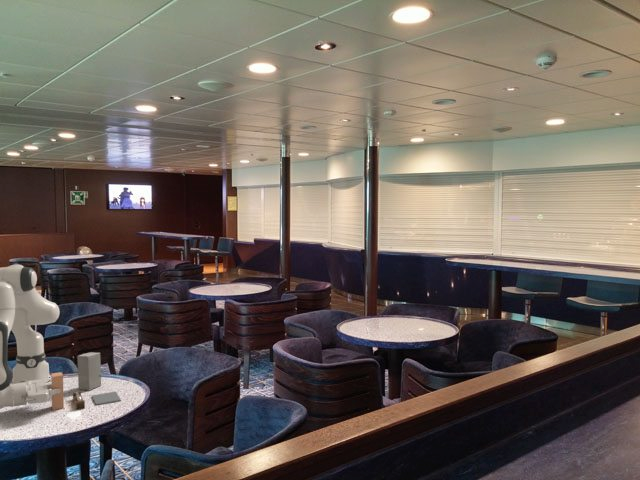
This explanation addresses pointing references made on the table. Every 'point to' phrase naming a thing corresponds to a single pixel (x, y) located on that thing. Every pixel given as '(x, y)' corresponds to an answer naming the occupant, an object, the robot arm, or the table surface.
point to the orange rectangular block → (57, 398)
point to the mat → (106, 398)
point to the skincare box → (89, 371)
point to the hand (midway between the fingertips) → (59, 388)
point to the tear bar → (78, 400)
